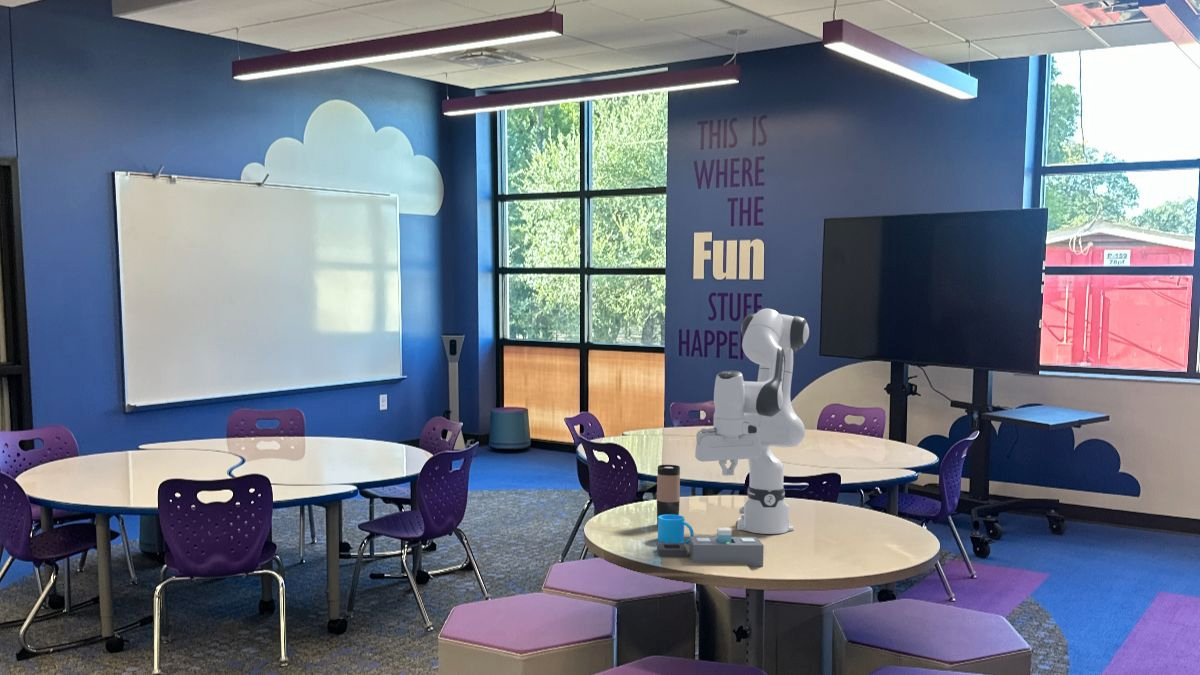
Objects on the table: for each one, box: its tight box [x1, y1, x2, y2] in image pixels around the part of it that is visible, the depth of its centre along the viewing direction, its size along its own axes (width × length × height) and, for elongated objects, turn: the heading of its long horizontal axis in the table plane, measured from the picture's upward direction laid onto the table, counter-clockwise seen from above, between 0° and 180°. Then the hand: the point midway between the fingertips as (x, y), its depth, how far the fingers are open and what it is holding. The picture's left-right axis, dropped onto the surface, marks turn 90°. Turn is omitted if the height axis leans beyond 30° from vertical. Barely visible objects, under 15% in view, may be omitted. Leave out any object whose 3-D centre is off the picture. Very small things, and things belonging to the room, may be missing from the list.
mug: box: [657, 514, 694, 544], centre depth 299 cm, size 12×8×8 cm
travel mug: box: [656, 464, 681, 527], centre depth 324 cm, size 8×8×20 cm
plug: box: [716, 527, 733, 543], centre depth 279 cm, size 4×4×8 cm
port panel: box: [688, 535, 764, 567], centre depth 280 cm, size 10×20×6 cm, turn 92°
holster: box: [656, 542, 688, 558], centre depth 284 cm, size 8×8×3 cm
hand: (728, 475), depth 279 cm, fingers closed
